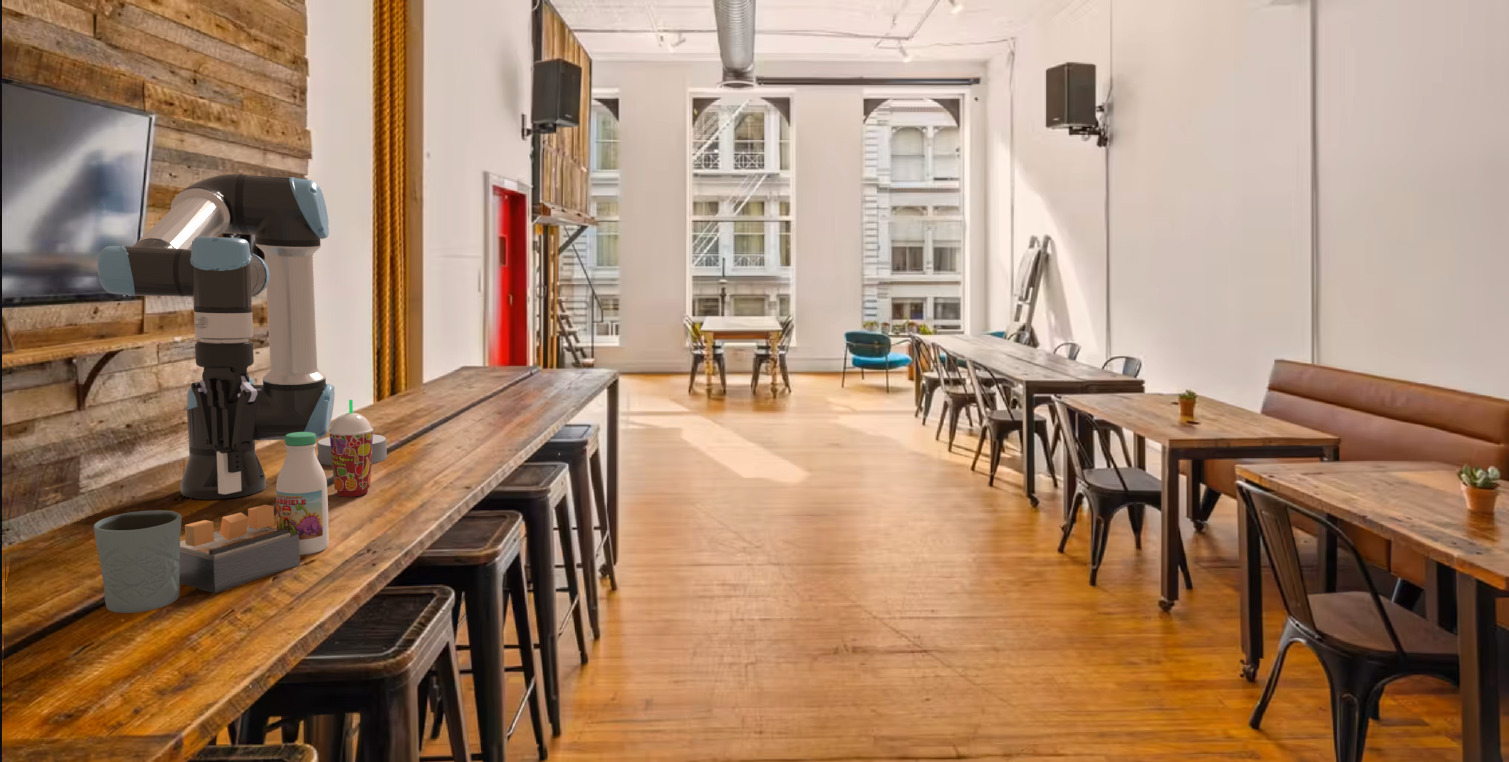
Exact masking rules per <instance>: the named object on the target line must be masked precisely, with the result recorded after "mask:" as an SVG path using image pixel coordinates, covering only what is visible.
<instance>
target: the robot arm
mask: <svg viewBox="0 0 1509 762" xmlns="http://www.w3.org/2000/svg"><path fill="white" fill-rule="evenodd" d="M329 233H330V228H329V216H328V210H327V206H326V200H325V197H324V194H323V191H322V189H321V186H319V184H318V183H317V182H315V181H314V180H312V179H305V178H298V177H293V176H289V177H287V176H285V177H284V176H270V175H269V176H267V175H252V174H243V173H242V174H241V173H240V174H239V173H228V174H227V173H224V174H220V175H219V174H218V175H214V176H212V177H207V178H205V179H202V180H199V181H197V182H195V183H192V184H191V185H189V186H187V187H186V188H184V189H183V190H181V191H179V193H178V194H176V196H175V197H174V198H173V199H172V201H171V204H170V210H169V211H168V212H167V213H166V214H164V216H162V218H161V219H159V221H157V223H155V224H154V225H153V226H152V227H151V228H150V229H149V230H148V231H147V232H146V233H145V234H144V235H143V236H142V237H140V239H139V240H137V242H135V244H133V246H128V245H124V244H121V245H110V246H109V245H108V246H105V247H104V248H102V249H101V251H100V252H99V254H98V258H97V265H96V266H97V267H96V269H97V276H98V280H99V283H100V285H101V287H102V288H103V290H104V291H105V292H107V293H108V294H113V295H124V296H132V297H135V296H136V297H137V296H139V297H142V296H143V297H186V298H187V297H189V298H191V297H192V300H193V311H194V312H193V313H194V315H193V316H194V319H193V320H194V321H193V323H194V337H195V338H196V339H199V341H197V342H196V343H195V344H194V354H195V355H194V356H195V364H196V366H197V367H200V368H203V371H202V374H201V378H202V379H201V380H199V382H192V383H191V386H190V388H189V389H188V390H187V393H186V394H187V397H186V398H187V400H186V401H187V403H186V405H187V406H186V407H185V410H186V415H187V416H186V417H187V437H188V452H189V453H188V454H189V457H188V460H187V463H186V465H185V468H184V471H183V474H182V478H181V480H180V495H181V494H182V495H183V496H182V495H181V496H182V497H184V496H186V497H185V498H187V497H189V498H188V499H192V498H195V499H196V500H221V499H222V500H223V499H224V500H225V499H232V498H233V499H234V498H240V497H245V496H249V495H252V494H256V493H260V492H262V491H263V490H265V489H266V488H267V479H266V475H265V472H264V469H263V466H262V465H261V463H260V460H259V458H258V454H257V453H256V441H285V436H286V435H287V434H289V433H295V432H311V433H315V435H316V440H320V439H323V438H325V436H326V435H327V433H329V430H330V428H331V427H330V426H331V423H332V418H333V413H334V412H333V411H334V404H335V386H334V385H333V384H331V383H327V382H326V381H327V379H326V374H325V373H324V372H322V371H321V370H320V369H319V368H318V358H317V357H318V356H317V355H318V354H317V334H316V332H317V331H316V330H317V329H316V309H315V306H316V304H315V285H314V280H315V279H314V257H313V256H314V254H315V253H316V252H317V251H318V250H319V249H320V248H321V244H322V243H321V240H324V239H327V238H328V236H329ZM222 234H231V235H232V234H235V235H249V236H250V235H251V236H254V240H255V241H254V243H255V246H256V247H257V248H258V249H260V251H262V252H263V253H264V260H263V258H261V257H260V256H258V255H257V254H255V253H253V252H251V248H250V243H249V241H248V240H247V239H244V238H240V237H239V238H236V237H222V236H221V235H222ZM219 236H221V237H219ZM265 289H266V304H267V305H266V306H267V324H268V326H267V327H268V342H269V343H268V344H269V347H268V348H269V362H270V363H269V364H270V369H269V371H268V372H266V373H265V375H263V377H262V384H255V381H254V379H253V378H252V377H250V376H249V372H248V367H250V366H252V365H253V364H254V363H255V361H254V360H255V358H254V353H255V352H254V343H253V342H252V341H250V340H249V339H252V338H253V337H254V324H253V323H254V321H253V319H254V318H253V306H252V298H254V297H256V296H257V295H259V294H261V293H262V292H263V291H264V290H265ZM195 499H194V500H195Z"/></svg>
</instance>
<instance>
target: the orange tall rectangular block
mask: <svg viewBox="0 0 1509 762" xmlns="http://www.w3.org/2000/svg"><path fill="white" fill-rule="evenodd" d="M214 530H215V527H214V521H210V520H206V519H203V520H200V521H196V522H191V523H188V524H187V523H186V524H185V525H184V535H185V536H184V537H185V538H184V540H185V541H186V545H190V546H193V547H195V546H199V545H202V544H206V543H210V542H213V541H214V532H215V531H214Z"/></svg>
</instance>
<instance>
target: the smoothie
mask: <svg viewBox="0 0 1509 762" xmlns="http://www.w3.org/2000/svg"><path fill="white" fill-rule="evenodd" d="M353 403H354V402H353V399H349V400H348V410H349V412H346V413H343V414H341V415H340V416H338V417H337V418H336V419H334V421H333V423H332V425H331V427H330V428H329V430H328V433H329V437H330V444H331V455H332V466H331V467H332V476H333V486H334V490H335V491H336V492H337V493H336V494H337V495H338V496H340V497H343V498H344V497H346V498H354V497H361V496H363V495H365V494H367V493H368V490H369V488H370V487H371V478H372V474H371V473H372V464H371V462H372V442H373V434H374V430H375V429H374V427H372V426H371V425H372V424H371V423H370V421H369V420H368V419H367V418H366V417H365V416H363V415H362V414H360V413H356V412H354V405H353Z"/></svg>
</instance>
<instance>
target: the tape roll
mask: <svg viewBox="0 0 1509 762" xmlns="http://www.w3.org/2000/svg"><path fill="white" fill-rule="evenodd" d="M387 451H388V449H387V438H386V436H383V435H380V434H374V433H373V442H372V462H371V465H373V464H377V463H380V462H382V461H383V462H384V461H385V460H386V459H387V458H388V457H387V455H388V453H387ZM317 459H318V461H319V463H320V465H326V466H331V467H333V466H332V455H331V444H330V436H328V437H327V436H326V437H323V438H320V439H318V441H317Z"/></svg>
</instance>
